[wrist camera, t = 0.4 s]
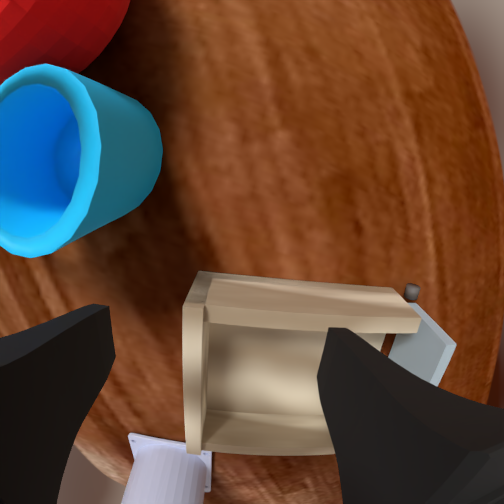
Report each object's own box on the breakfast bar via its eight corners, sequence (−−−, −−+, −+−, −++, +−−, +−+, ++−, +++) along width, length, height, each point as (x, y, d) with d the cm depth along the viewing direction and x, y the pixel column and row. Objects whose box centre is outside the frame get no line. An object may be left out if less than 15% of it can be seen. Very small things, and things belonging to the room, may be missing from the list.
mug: (141, 72, 16) (76, 27, 8) (181, 192, 18) (131, 218, 10) (9, 154, 17) (-71, 163, 9) (41, 253, 19) (-32, 296, 11)
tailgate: (370, 418, 22) (389, 466, 17) (362, 419, 22) (379, 467, 17) (415, 303, 19) (456, 344, 13) (406, 302, 19) (446, 344, 13)
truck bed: (363, 417, 23) (379, 458, 19) (195, 412, 23) (186, 457, 18) (412, 281, 20) (449, 312, 15) (199, 261, 19) (182, 295, 14)
